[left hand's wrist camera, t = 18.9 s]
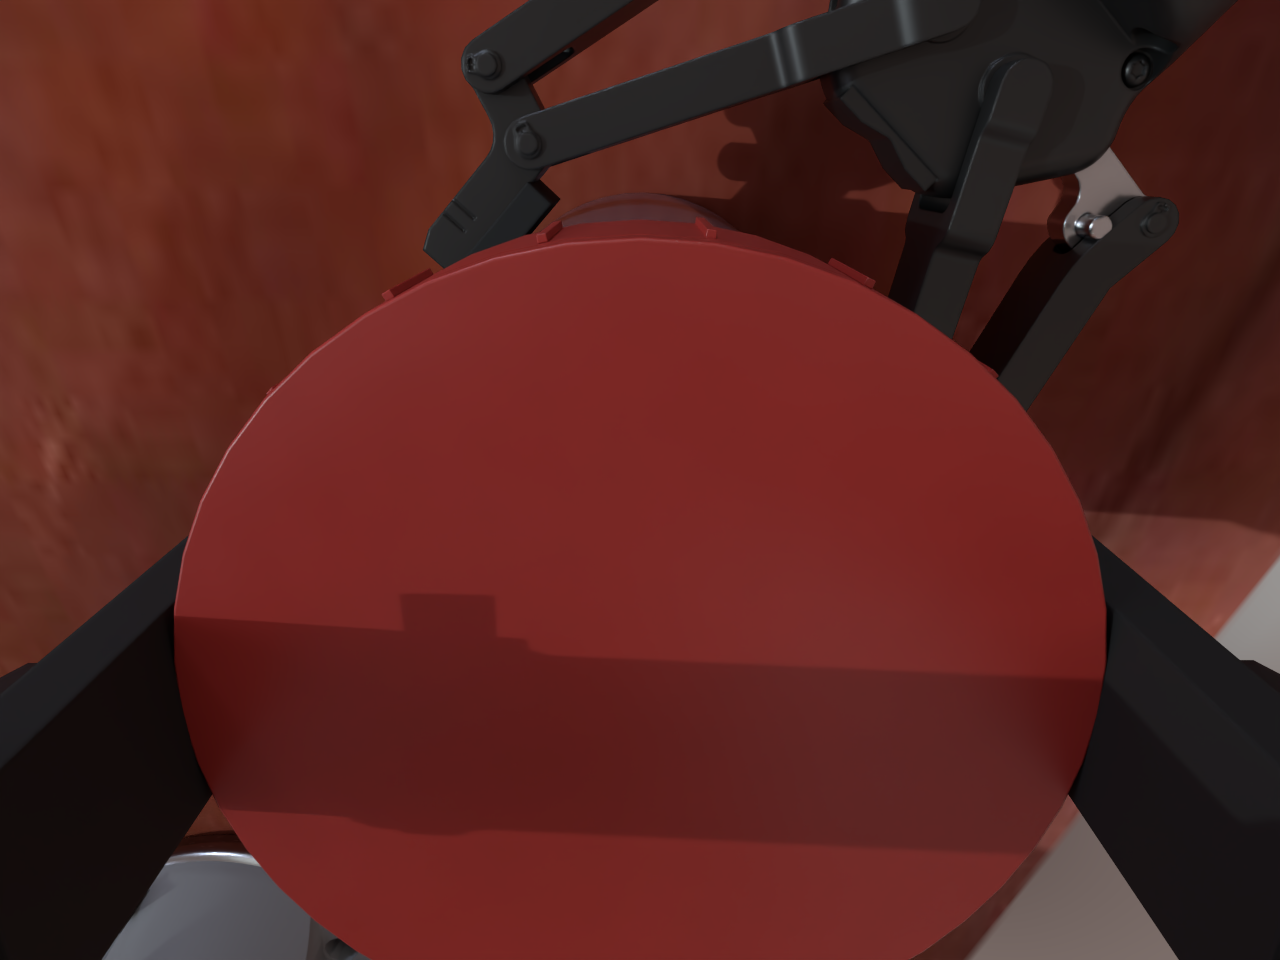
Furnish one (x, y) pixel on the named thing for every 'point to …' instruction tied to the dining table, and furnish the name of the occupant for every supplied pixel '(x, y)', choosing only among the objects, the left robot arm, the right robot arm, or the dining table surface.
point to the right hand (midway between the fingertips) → (542, 495)
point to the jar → (641, 210)
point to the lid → (640, 613)
